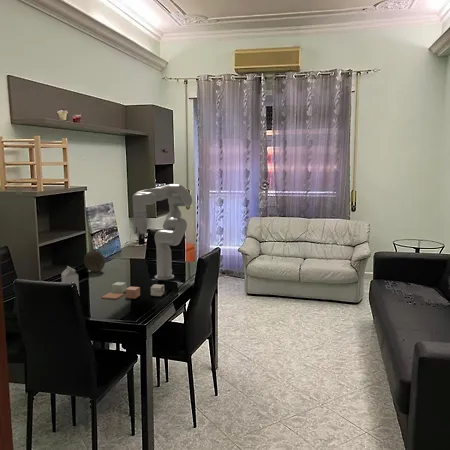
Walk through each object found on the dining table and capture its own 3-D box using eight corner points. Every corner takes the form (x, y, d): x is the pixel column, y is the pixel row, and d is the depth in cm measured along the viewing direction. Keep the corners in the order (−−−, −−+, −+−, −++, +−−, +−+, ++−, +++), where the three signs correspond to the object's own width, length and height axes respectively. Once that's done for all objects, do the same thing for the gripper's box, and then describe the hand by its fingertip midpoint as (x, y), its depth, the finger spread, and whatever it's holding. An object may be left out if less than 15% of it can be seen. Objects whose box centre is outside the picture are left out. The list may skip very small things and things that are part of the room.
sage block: (117, 290, 270) (117, 281, 269) (126, 290, 269) (126, 282, 268) (112, 292, 264) (112, 284, 264) (121, 293, 263) (121, 285, 262)
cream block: (154, 292, 264) (154, 284, 264) (164, 293, 263) (164, 285, 262) (150, 295, 258) (150, 287, 258) (160, 296, 257) (160, 287, 256)
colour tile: (109, 293, 262) (109, 292, 262) (123, 294, 260) (123, 293, 260) (101, 298, 253) (101, 296, 253) (116, 299, 251) (116, 298, 251)
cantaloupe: (108, 269, 321) (107, 248, 318) (101, 274, 307) (100, 252, 304) (89, 269, 322) (88, 248, 320) (80, 274, 308) (79, 252, 306)
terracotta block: (130, 294, 260) (130, 286, 259) (140, 295, 259) (139, 287, 258) (125, 297, 254) (125, 289, 254) (135, 298, 253) (135, 290, 252)
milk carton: (66, 303, 245) (64, 269, 242) (62, 300, 250) (60, 266, 248) (79, 301, 249) (77, 267, 246) (75, 297, 255) (73, 264, 252)
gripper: (139, 212, 278) (140, 241, 281) (128, 216, 263) (130, 247, 267) (150, 212, 276) (152, 242, 279) (141, 216, 262) (142, 247, 265)
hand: (141, 244), depth 273 cm, fingers closed
